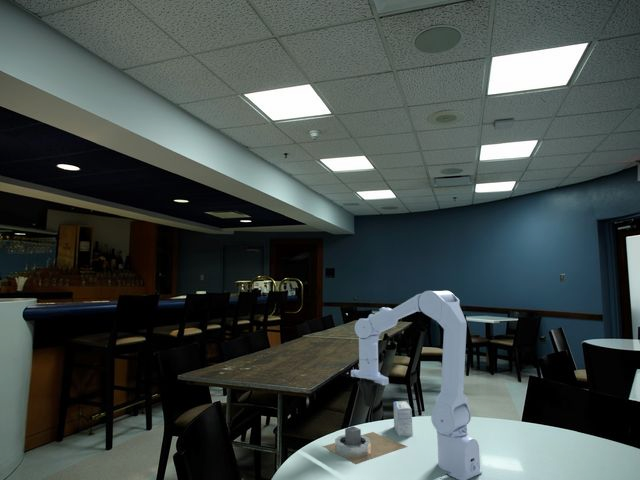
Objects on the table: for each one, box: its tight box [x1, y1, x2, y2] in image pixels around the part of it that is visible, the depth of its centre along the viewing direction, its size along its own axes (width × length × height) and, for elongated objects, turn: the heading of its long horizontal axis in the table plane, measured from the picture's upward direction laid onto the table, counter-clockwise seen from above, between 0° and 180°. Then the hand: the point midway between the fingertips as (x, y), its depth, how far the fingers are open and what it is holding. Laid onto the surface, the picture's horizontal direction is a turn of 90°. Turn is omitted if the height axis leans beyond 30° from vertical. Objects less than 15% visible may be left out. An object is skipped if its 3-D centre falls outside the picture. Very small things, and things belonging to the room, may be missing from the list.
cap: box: [343, 426, 363, 446], centre depth 109 cm, size 6×6×6 cm
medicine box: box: [393, 400, 414, 437], centre depth 123 cm, size 8×4×9 cm, turn 179°
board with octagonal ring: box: [322, 431, 408, 465], centre depth 111 cm, size 14×19×3 cm
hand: (369, 405), depth 119 cm, fingers closed
